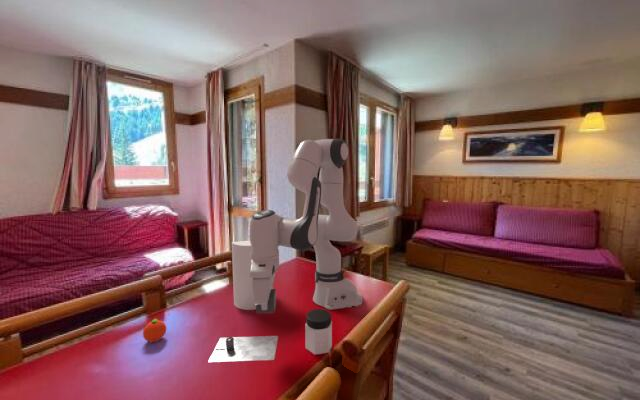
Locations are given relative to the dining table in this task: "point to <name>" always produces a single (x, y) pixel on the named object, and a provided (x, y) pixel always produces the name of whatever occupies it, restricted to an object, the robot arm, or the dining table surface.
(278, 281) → the dining table surface
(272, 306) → the dark gray cube
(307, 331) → the jar
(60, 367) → the dining table surface
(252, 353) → the plate
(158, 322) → the clementine
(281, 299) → the dining table surface
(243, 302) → the cylinder
